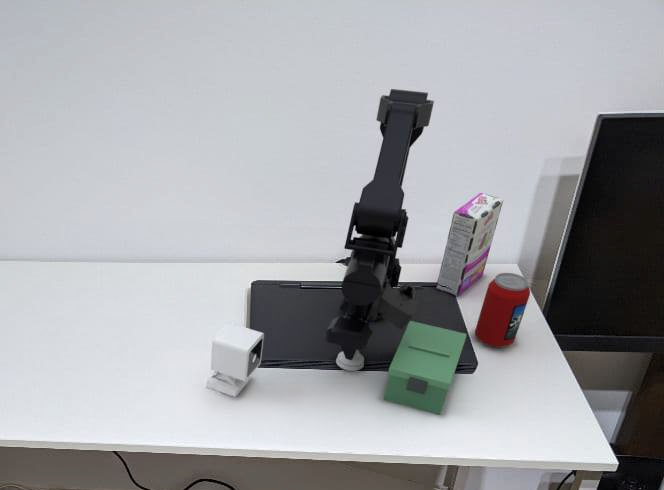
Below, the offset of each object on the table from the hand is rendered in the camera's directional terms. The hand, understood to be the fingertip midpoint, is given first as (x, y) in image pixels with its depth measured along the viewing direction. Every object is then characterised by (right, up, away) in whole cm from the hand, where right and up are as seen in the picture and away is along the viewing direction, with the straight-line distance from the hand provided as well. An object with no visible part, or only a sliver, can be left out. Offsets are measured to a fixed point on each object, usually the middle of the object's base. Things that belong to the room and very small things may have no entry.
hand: (351, 354), depth 145 cm
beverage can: (+27, +3, +7) cm, 28 cm away
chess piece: (0, -2, +1) cm, 2 cm away
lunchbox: (+11, -5, -3) cm, 12 cm away
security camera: (-21, -5, -3) cm, 22 cm away
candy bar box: (+27, +15, +23) cm, 38 cm away
